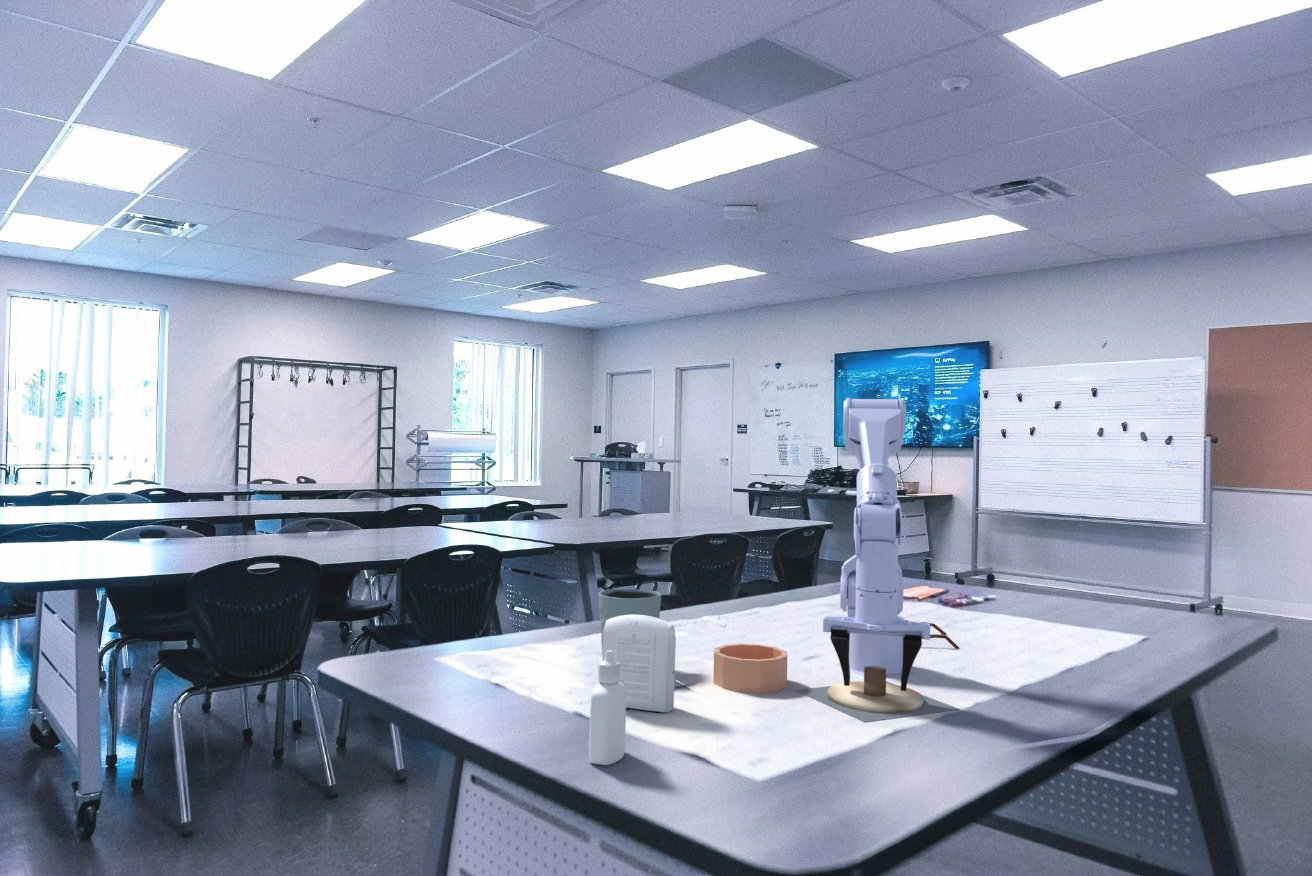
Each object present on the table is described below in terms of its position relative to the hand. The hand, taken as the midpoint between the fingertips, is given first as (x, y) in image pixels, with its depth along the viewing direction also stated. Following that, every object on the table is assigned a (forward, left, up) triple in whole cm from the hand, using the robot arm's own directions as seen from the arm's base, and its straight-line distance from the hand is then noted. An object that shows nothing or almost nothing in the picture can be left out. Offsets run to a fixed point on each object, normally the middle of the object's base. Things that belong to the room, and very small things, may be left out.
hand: (875, 686), depth 122 cm
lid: (0, 0, -2) cm, 2 cm away
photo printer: (+32, -10, -3) cm, 34 cm away
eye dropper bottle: (+43, +7, -3) cm, 44 cm away
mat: (0, 0, -2) cm, 2 cm away
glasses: (-36, -32, -3) cm, 48 cm away
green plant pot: (+25, -30, -3) cm, 39 cm away
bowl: (+12, -14, -2) cm, 19 cm away
